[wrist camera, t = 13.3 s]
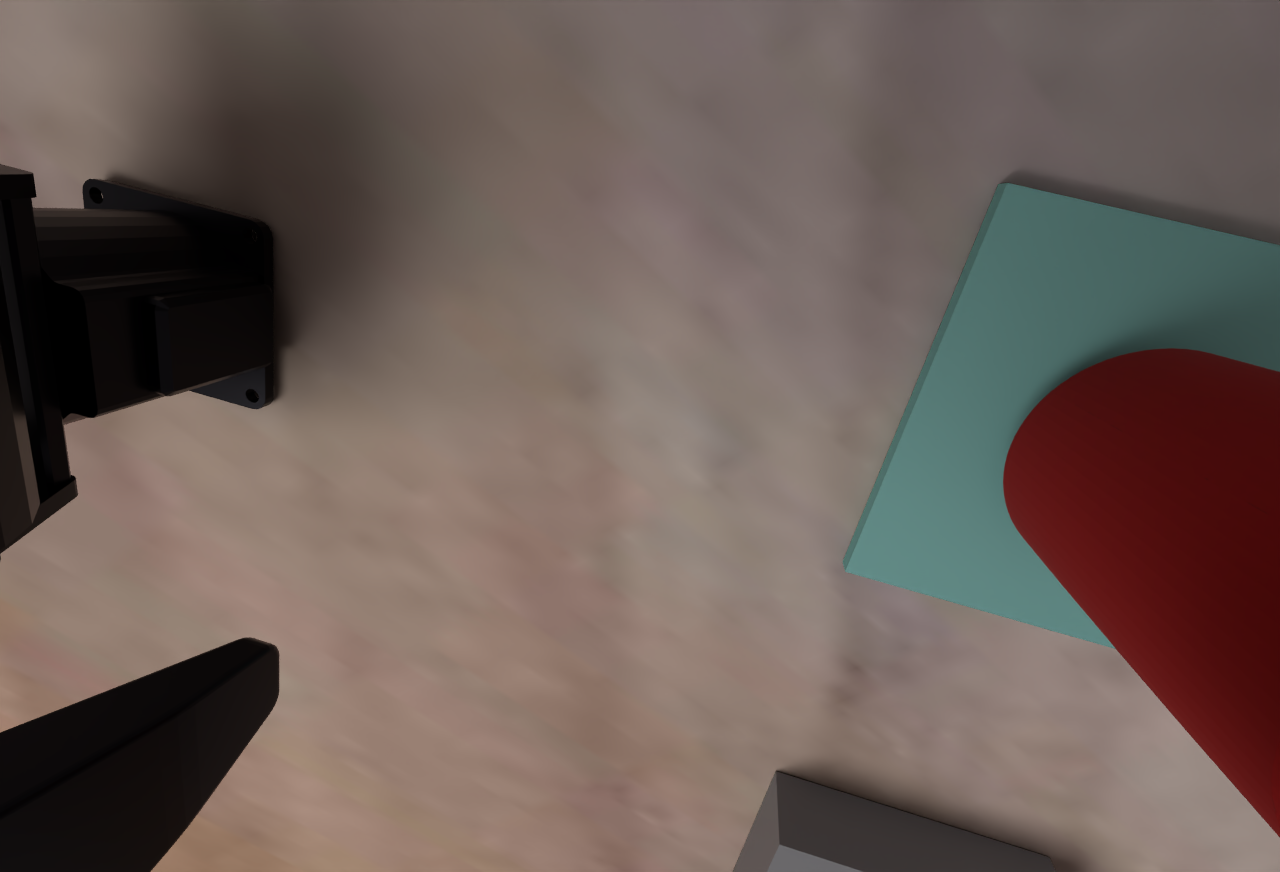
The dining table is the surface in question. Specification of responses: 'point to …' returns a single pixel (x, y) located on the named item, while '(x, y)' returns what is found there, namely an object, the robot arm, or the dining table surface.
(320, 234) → the dining table surface
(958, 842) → the can holder
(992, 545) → the teal mat
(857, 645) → the dining table surface
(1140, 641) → the beverage can
